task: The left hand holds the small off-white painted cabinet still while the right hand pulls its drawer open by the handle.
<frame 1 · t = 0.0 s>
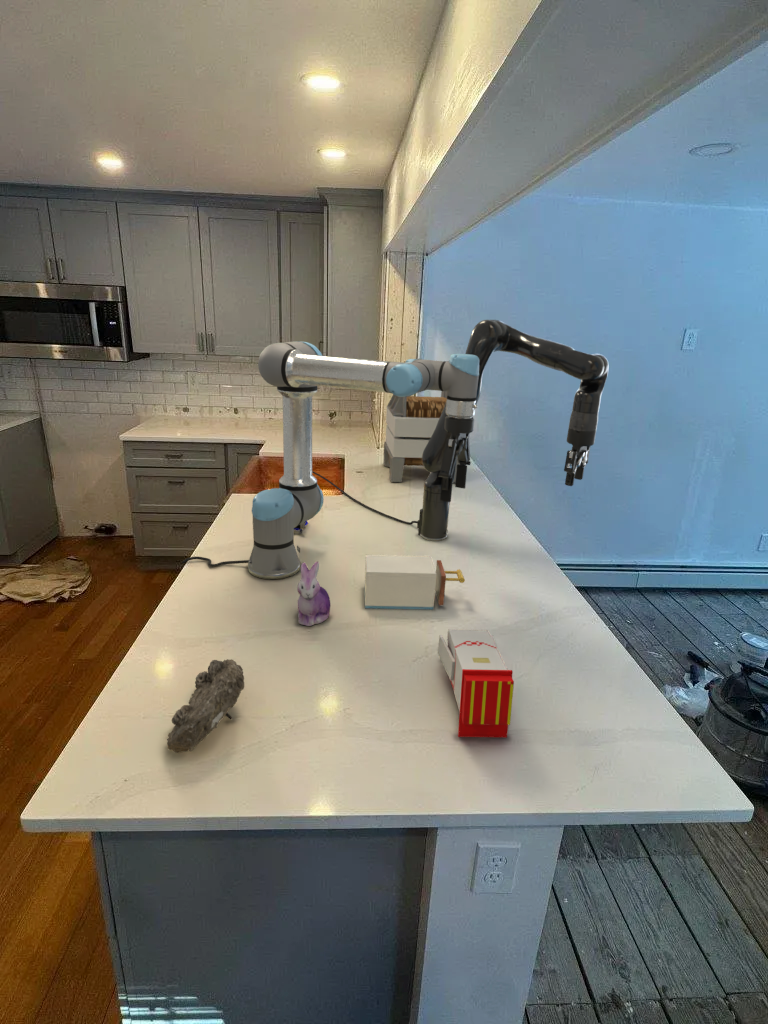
left hand: (453, 494, 154), 28 cm above the counter, tool pointing down, fingers open, 13 cm apart
right hand: (573, 482, 165), 29 cm above the counter, tool pointing down, fingers open, 8 cm apart
cabinet: (397, 598, 155), on the counter
figurine: (313, 617, 144), on the counter
drawer: (421, 581, 154), point 5 cm above the counter, slide at 1.5 cm
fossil: (212, 717, 108), on the counter
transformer: (419, 473, 275), on the counter
figurine character: (298, 528, 200), on the counter
toy: (469, 691, 119), on the counter
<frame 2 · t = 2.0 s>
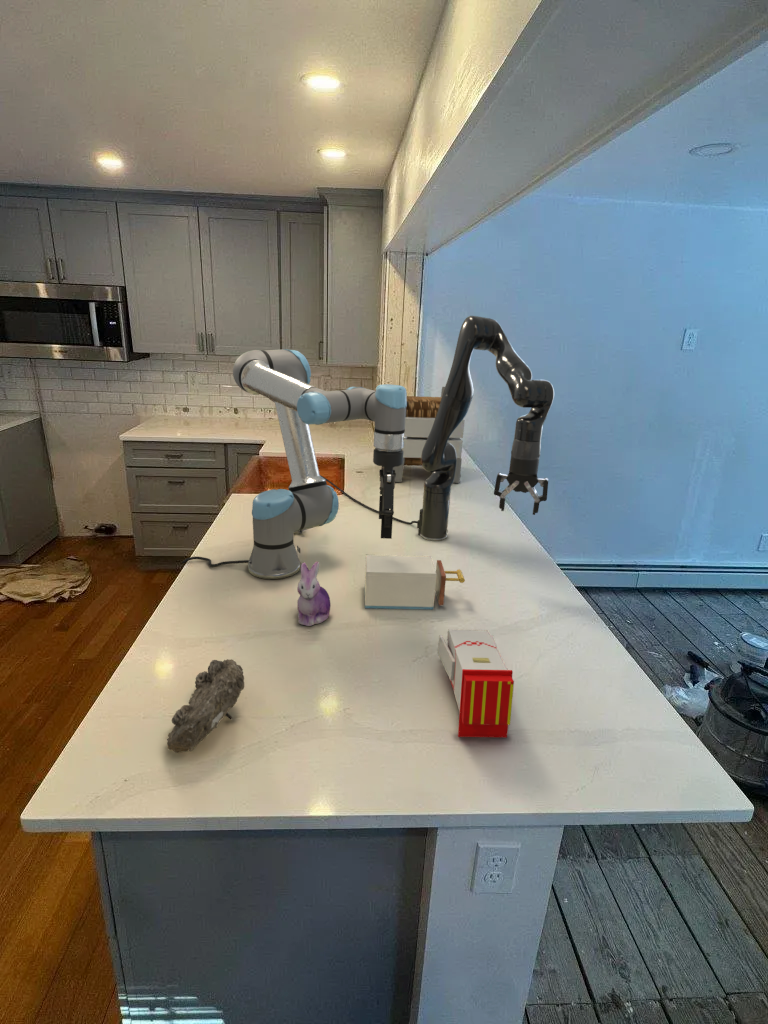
left hand: (384, 528, 148), 21 cm above the counter, tool pointing down, fingers open, 13 cm apart
right hand: (518, 512, 158), 23 cm above the counter, tool pointing down, fingers open, 8 cm apart
nothing on the counter moved.
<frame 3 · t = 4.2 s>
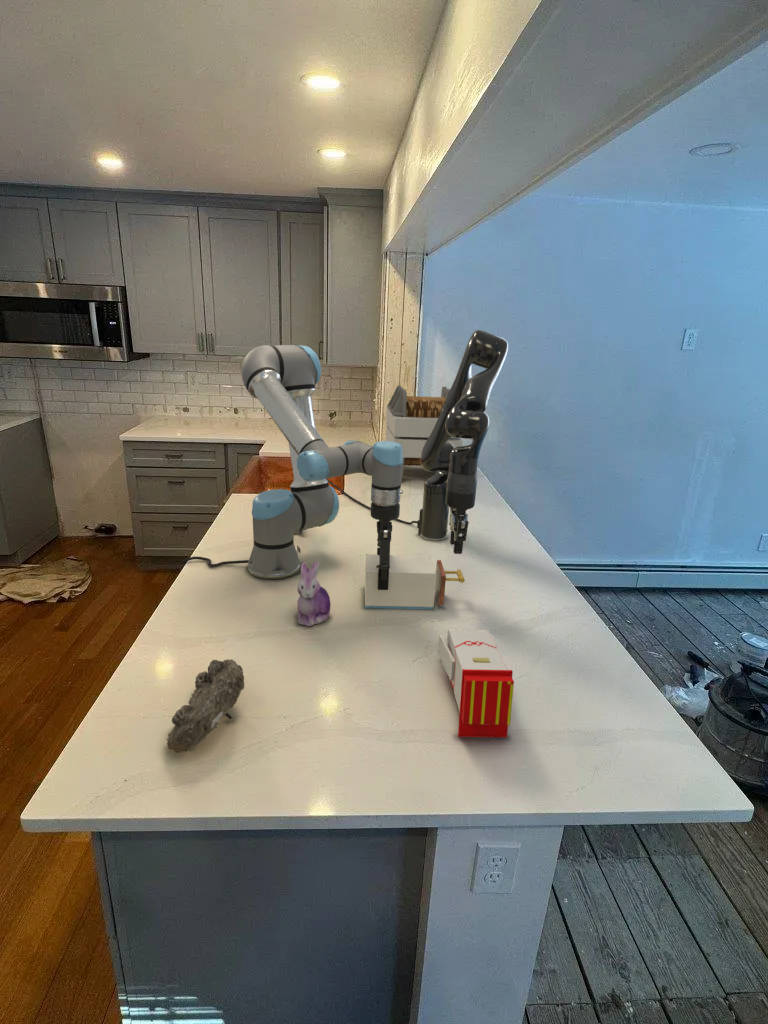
left hand: (382, 579, 153), 6 cm above the counter, tool pointing down, fingers closed on cabinet, 11 cm apart
right hand: (455, 548, 151), 15 cm above the counter, tool pointing down, fingers open, 5 cm apart
cabinet: (397, 598, 155), on the counter, touching left hand
everything else where it was.
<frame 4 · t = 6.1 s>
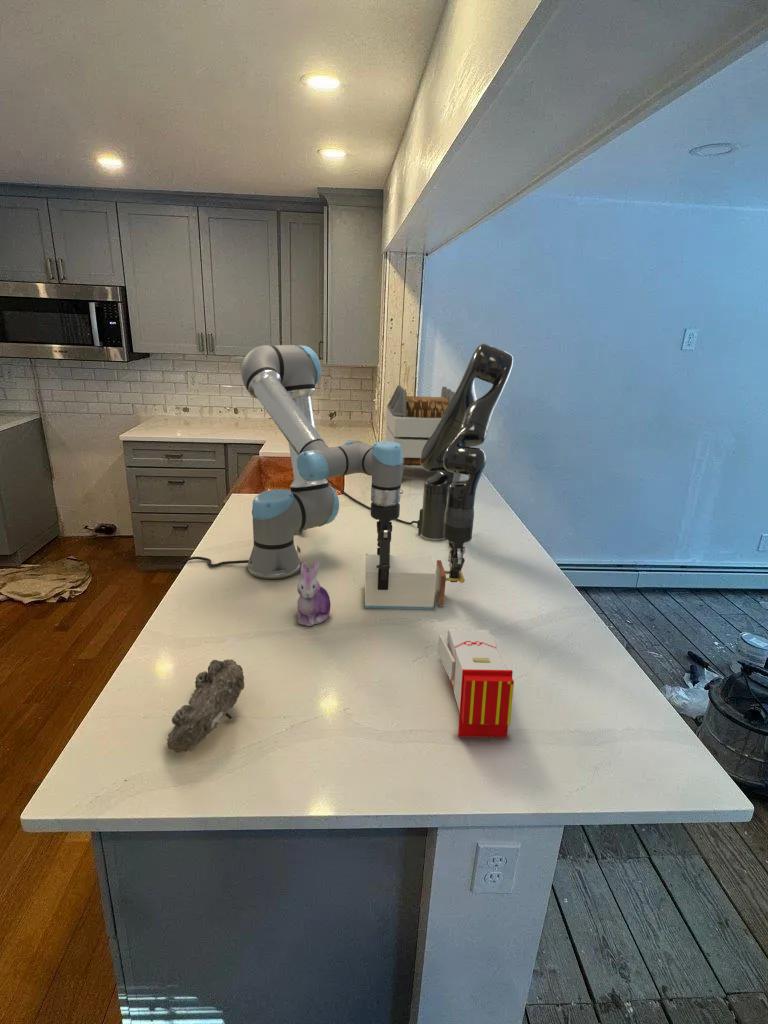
left hand: (382, 579, 153), 6 cm above the counter, tool pointing down, fingers closed on cabinet, 11 cm apart
right hand: (453, 580, 154), 6 cm above the counter, tool pointing down, fingers closed
cabinet: (397, 598, 155), on the counter, touching left hand
drawer: (421, 581, 154), point 5 cm above the counter, slide at 1.5 cm, touching right hand
everything else where it was.
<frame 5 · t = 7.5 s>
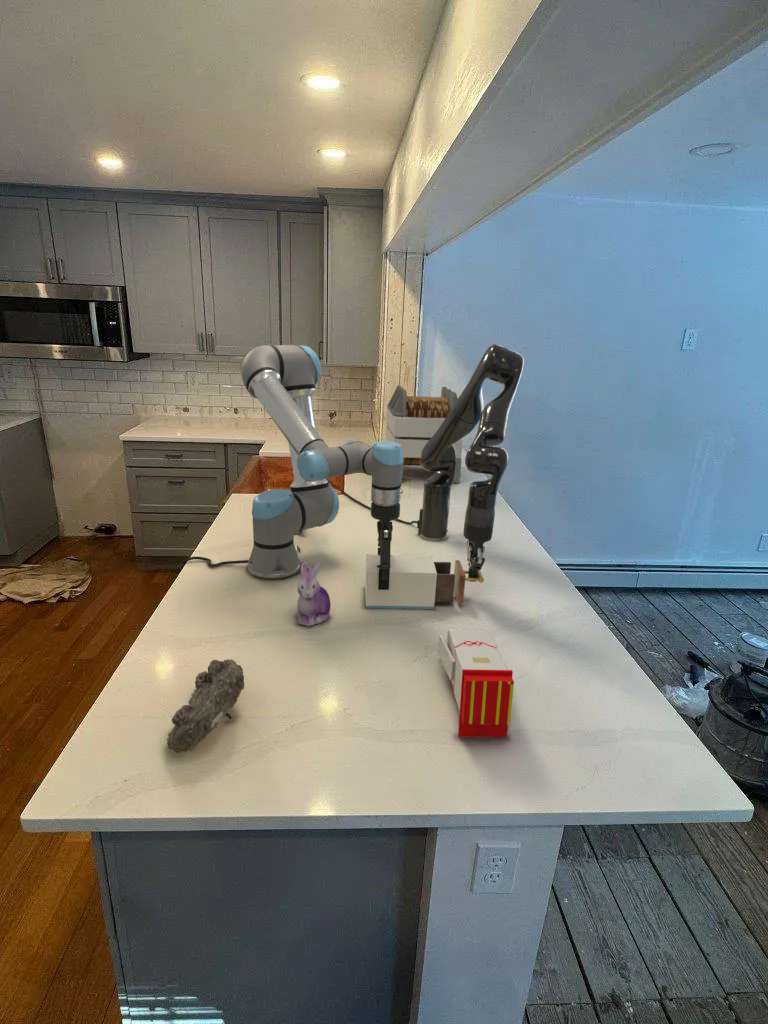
left hand: (382, 579, 153), 6 cm above the counter, tool pointing down, fingers closed on cabinet, 11 cm apart
right hand: (471, 580, 154), 6 cm above the counter, tool pointing down, fingers closed
cabinet: (398, 598, 155), on the counter, touching left hand
drawer: (440, 581, 154), point 5 cm above the counter, slide at 6.5 cm
everything else where it was.
when the left hand's fingers open (6 cm above the counter, at t = 9.0 s): cabinet stays where it is, on the counter.
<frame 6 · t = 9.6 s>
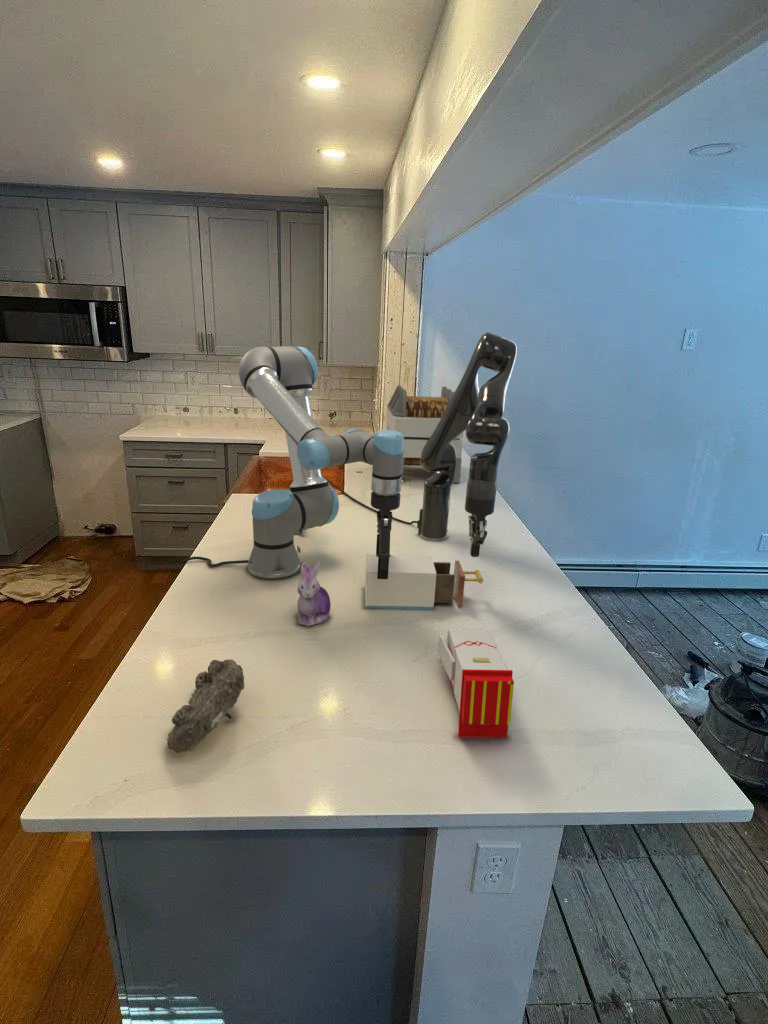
left hand: (381, 566, 152), 9 cm above the counter, tool pointing down, fingers open, 13 cm apart
right hand: (474, 555, 152), 13 cm above the counter, tool pointing down, fingers closed
cabinet: (398, 598, 155), on the counter
everything else where it was.
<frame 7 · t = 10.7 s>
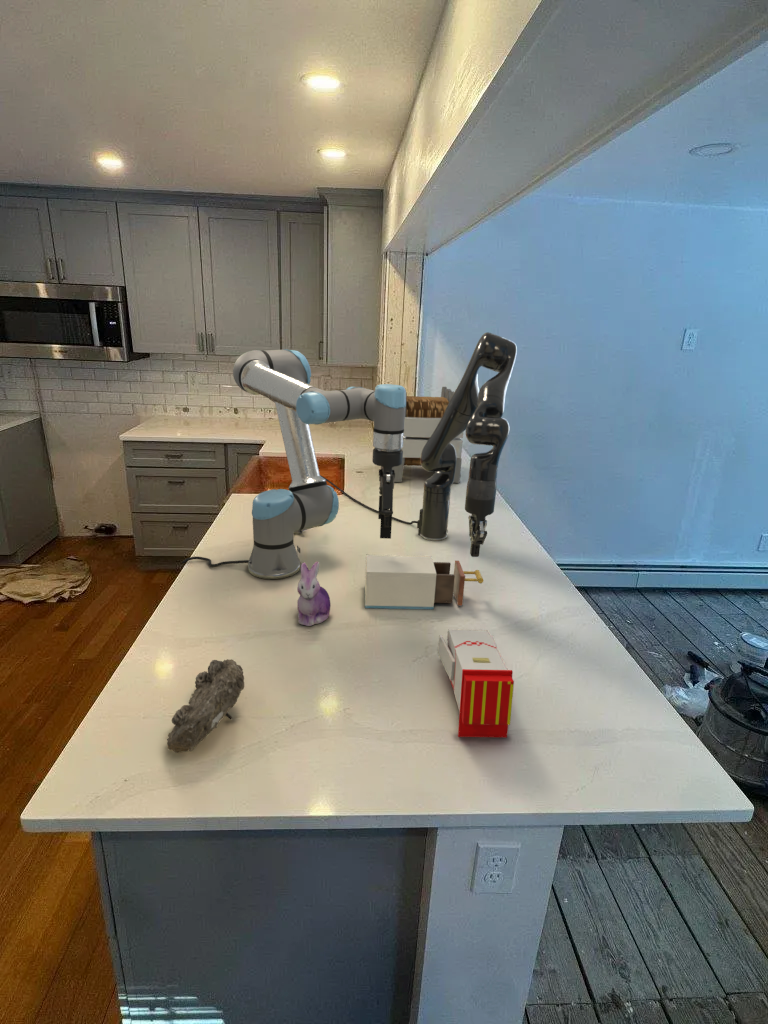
left hand: (384, 528, 148), 21 cm above the counter, tool pointing down, fingers open, 13 cm apart
right hand: (474, 555, 152), 13 cm above the counter, tool pointing down, fingers closed
nothing on the counter moved.
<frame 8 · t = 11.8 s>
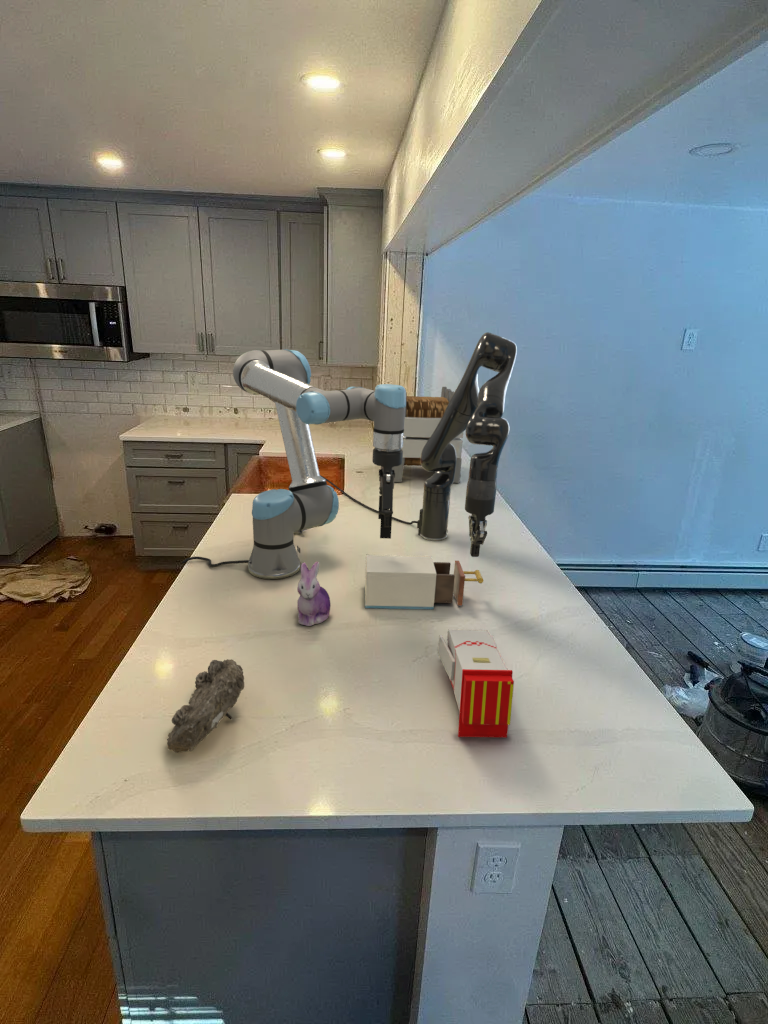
left hand: (384, 528, 148), 21 cm above the counter, tool pointing down, fingers open, 13 cm apart
right hand: (474, 555, 152), 13 cm above the counter, tool pointing down, fingers closed
nothing on the counter moved.
at the end: drawer slide at 6.5 cm; cabinet tilted 0°; cabinet never tilted more than 1° during the clip; cabinet moved 0.1 cm from its start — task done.
